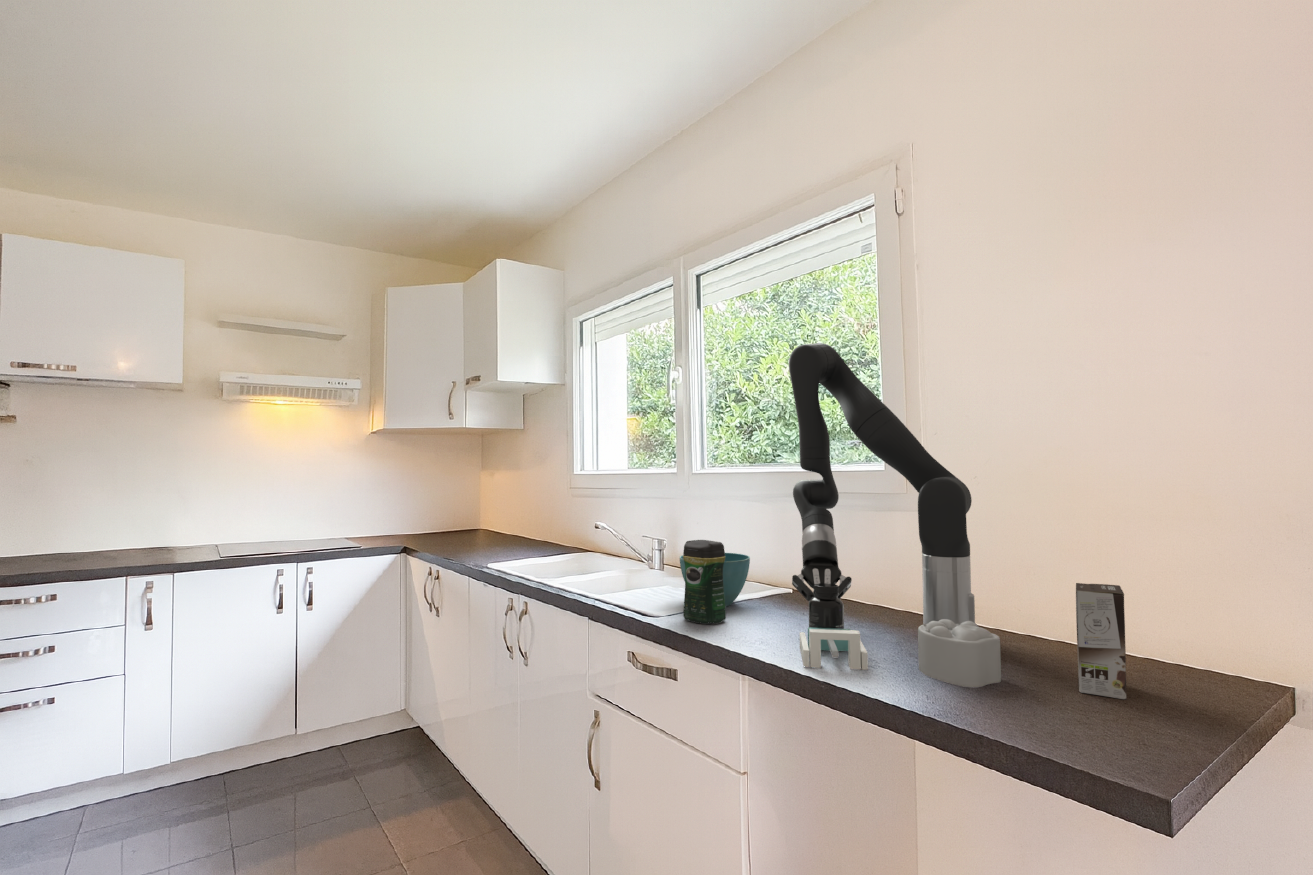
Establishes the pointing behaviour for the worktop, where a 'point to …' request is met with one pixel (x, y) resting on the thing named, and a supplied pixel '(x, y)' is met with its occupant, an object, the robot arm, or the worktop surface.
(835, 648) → the pusher
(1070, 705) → the worktop surface
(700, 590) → the coffee jar
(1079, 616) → the coffee box
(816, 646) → the white stand with panel
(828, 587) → the supplement bottle
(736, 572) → the teal bowl
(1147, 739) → the worktop surface
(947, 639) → the lumpy-topped squat cylinder
